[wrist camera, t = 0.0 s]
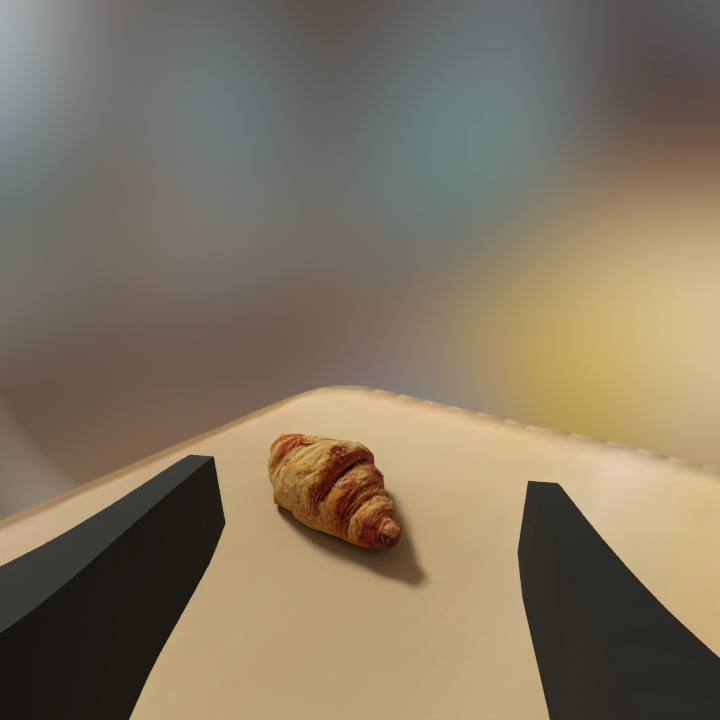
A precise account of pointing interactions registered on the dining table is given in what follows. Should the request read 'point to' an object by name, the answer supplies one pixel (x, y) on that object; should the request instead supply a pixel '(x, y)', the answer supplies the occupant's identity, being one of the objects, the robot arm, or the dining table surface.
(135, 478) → the dining table surface
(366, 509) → the croissant
